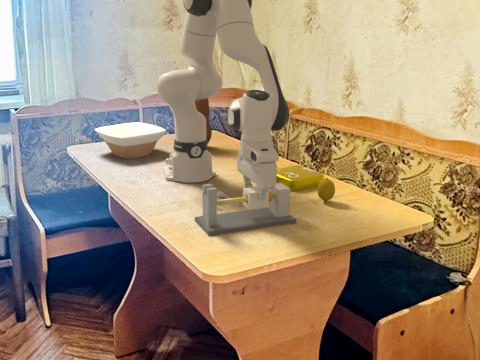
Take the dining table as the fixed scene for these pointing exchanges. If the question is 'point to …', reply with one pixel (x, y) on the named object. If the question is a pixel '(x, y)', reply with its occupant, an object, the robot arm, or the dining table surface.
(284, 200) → the cord rig
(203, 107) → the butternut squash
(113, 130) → the bowl
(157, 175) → the dining table surface
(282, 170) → the element tile
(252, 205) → the sleeve
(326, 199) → the lemon
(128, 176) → the dining table surface
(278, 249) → the dining table surface
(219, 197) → the pliers
